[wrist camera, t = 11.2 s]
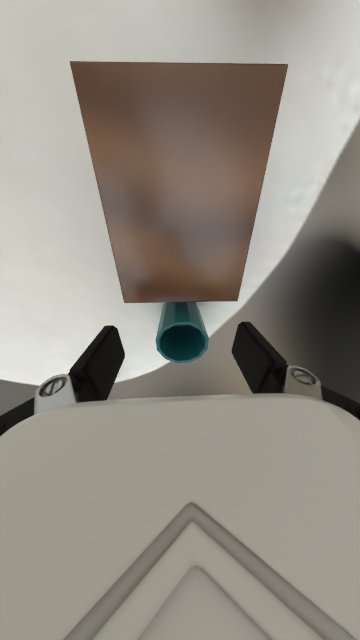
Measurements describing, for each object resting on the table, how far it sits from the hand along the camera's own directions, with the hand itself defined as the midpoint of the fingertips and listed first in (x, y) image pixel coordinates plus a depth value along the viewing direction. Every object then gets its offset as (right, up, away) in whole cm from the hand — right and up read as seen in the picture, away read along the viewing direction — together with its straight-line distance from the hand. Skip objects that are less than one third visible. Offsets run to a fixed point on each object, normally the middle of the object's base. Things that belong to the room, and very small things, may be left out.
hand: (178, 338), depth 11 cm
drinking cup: (0, +3, +7) cm, 8 cm away
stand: (0, +13, +6) cm, 14 cm away
